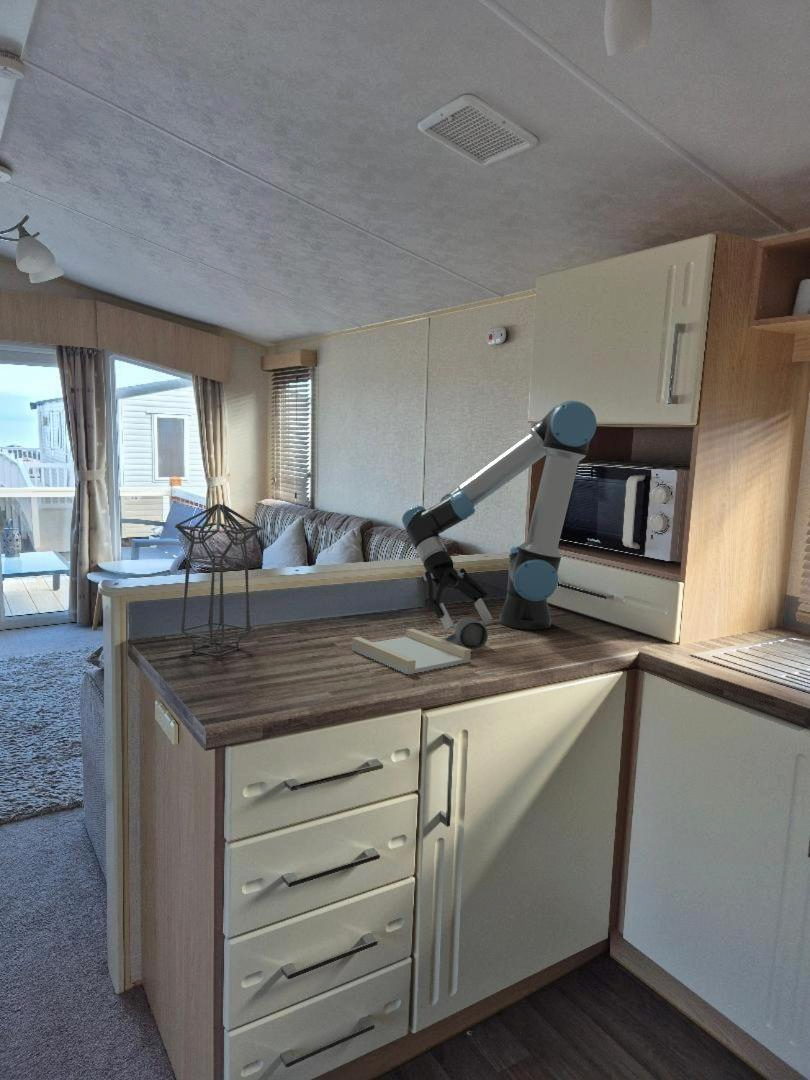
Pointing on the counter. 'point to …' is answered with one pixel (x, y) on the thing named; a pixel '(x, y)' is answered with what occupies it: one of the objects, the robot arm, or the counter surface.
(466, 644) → the ceramic mug
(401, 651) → the rail tray
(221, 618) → the geometric lantern
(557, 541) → the robot arm
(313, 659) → the counter surface
